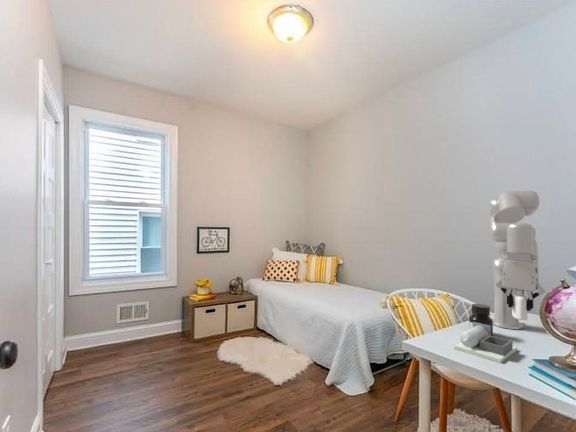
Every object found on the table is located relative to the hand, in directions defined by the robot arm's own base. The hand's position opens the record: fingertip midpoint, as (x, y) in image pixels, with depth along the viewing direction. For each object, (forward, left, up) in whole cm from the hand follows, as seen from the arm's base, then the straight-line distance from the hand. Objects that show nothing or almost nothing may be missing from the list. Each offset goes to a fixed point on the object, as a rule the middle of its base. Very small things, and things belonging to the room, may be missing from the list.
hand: (519, 308), depth 113 cm
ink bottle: (-15, -18, -17) cm, 29 cm away
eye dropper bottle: (0, 0, -4) cm, 4 cm away
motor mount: (+3, -10, -17) cm, 20 cm away
